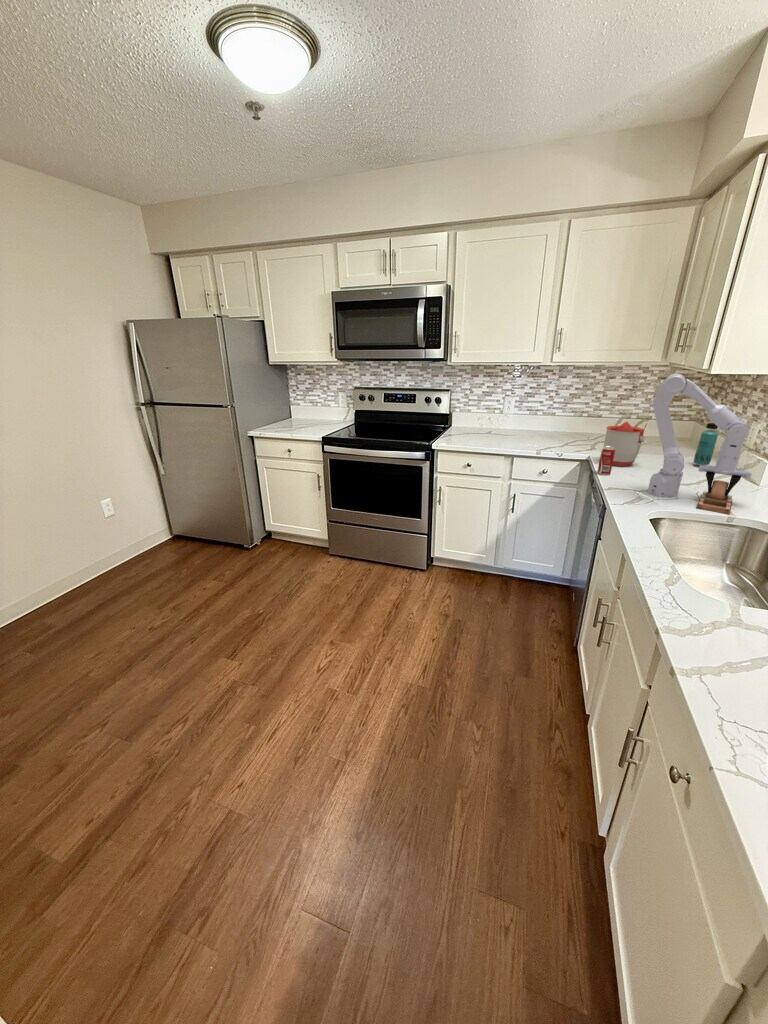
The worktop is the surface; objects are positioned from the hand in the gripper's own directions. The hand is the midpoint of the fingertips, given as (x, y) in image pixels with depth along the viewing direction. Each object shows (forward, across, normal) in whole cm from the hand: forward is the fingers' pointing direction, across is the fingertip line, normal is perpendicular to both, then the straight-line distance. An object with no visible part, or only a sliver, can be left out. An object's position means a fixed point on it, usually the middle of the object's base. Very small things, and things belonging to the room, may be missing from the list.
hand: (717, 493), depth 150 cm
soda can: (+4, -41, +15) cm, 43 cm away
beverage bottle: (+4, -9, +56) cm, 57 cm away
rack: (+3, 0, -4) cm, 6 cm away
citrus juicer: (+4, -39, +37) cm, 54 cm away
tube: (+3, 0, 0) cm, 3 cm away
